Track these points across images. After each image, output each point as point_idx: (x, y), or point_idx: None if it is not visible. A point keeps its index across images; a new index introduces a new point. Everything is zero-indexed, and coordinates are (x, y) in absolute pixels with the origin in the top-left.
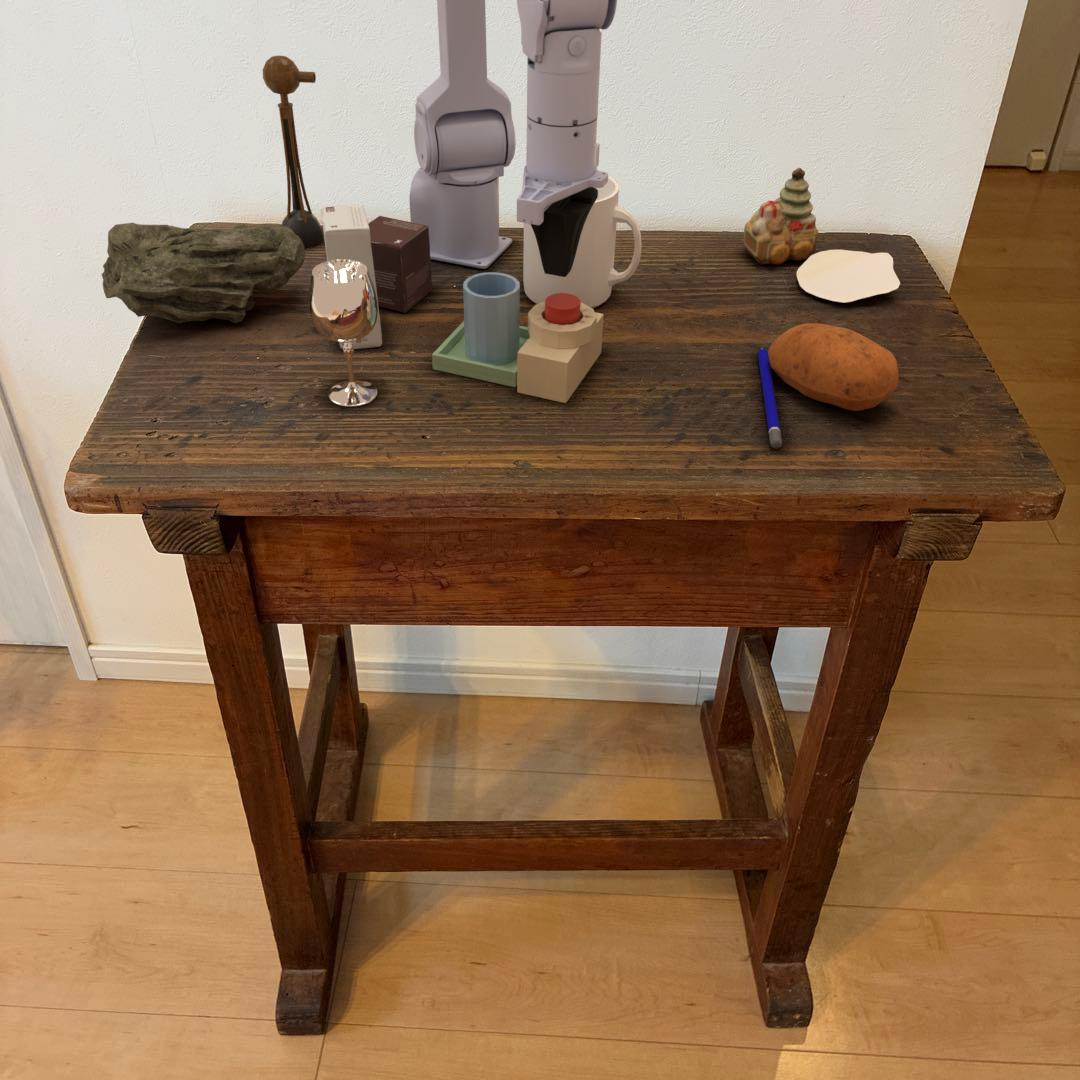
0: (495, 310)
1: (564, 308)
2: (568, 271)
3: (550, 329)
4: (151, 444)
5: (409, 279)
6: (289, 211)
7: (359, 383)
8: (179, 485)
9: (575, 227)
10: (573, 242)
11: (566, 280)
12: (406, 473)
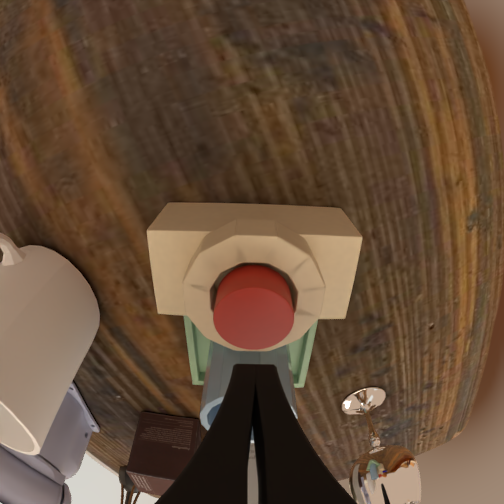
0: (291, 389)
1: (288, 309)
2: (264, 370)
3: (322, 302)
4: (429, 438)
5: (182, 444)
6: (138, 495)
7: (354, 405)
8: (470, 408)
9: (342, 500)
10: (285, 444)
11: (72, 316)
12: (480, 313)
